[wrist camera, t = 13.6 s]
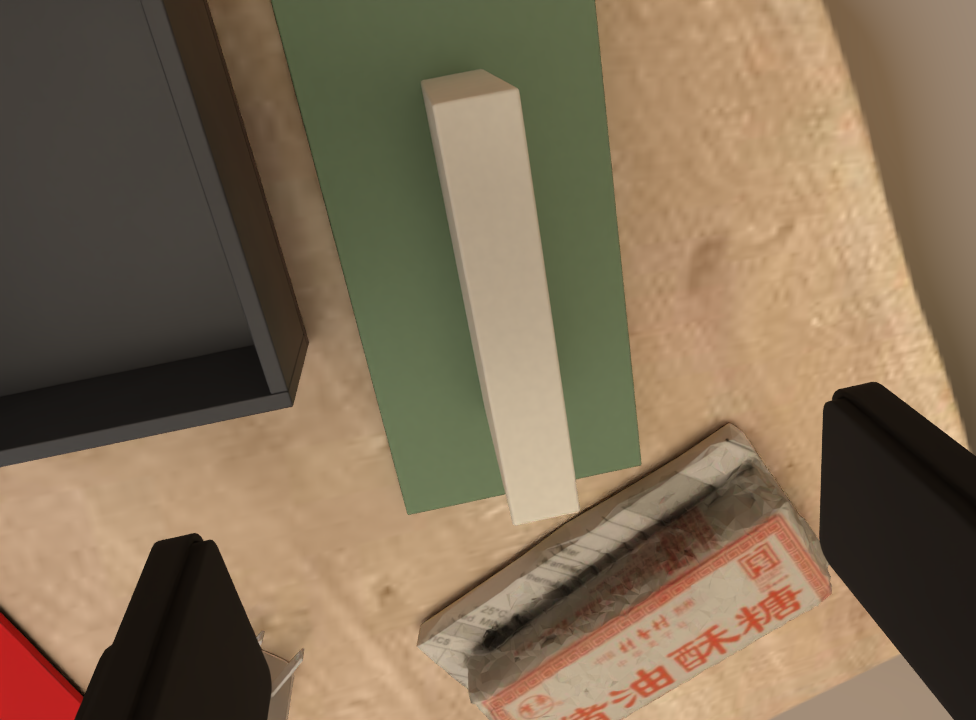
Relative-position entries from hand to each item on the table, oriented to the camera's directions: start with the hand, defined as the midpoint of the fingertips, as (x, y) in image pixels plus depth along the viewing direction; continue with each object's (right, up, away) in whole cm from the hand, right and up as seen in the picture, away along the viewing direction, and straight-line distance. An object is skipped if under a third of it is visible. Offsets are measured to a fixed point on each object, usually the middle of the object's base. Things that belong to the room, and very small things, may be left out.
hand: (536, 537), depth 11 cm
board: (-1, +7, +17) cm, 18 cm away
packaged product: (+6, -8, +26) cm, 28 cm away
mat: (-1, +7, +18) cm, 19 cm away
